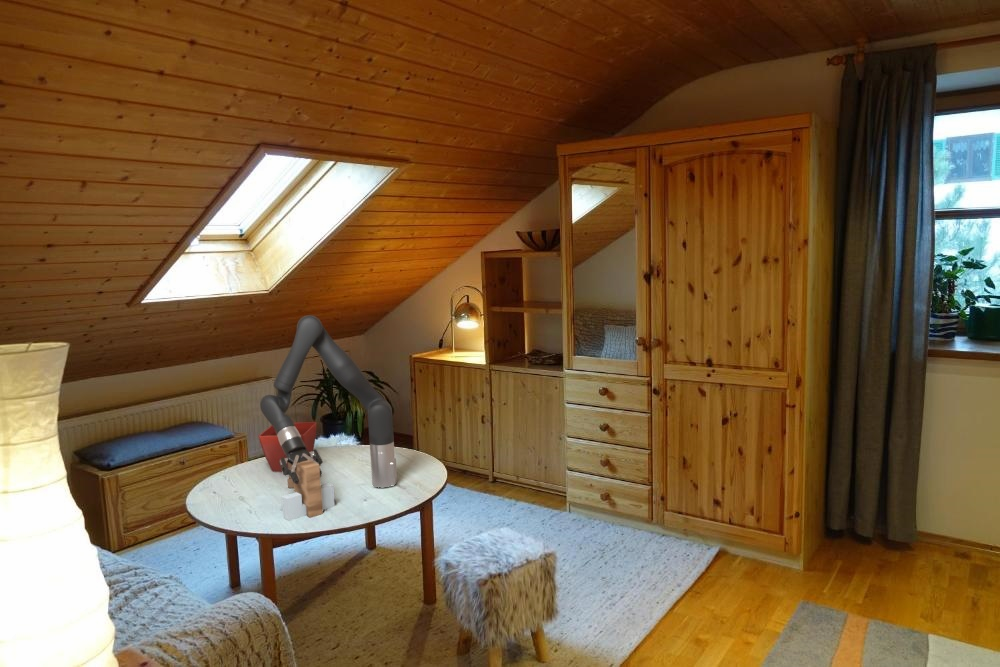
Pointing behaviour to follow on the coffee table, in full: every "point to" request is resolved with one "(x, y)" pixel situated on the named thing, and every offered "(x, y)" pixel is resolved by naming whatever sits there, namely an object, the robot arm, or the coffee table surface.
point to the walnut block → (309, 487)
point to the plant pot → (274, 448)
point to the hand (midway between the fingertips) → (309, 479)
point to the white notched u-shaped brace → (297, 509)
